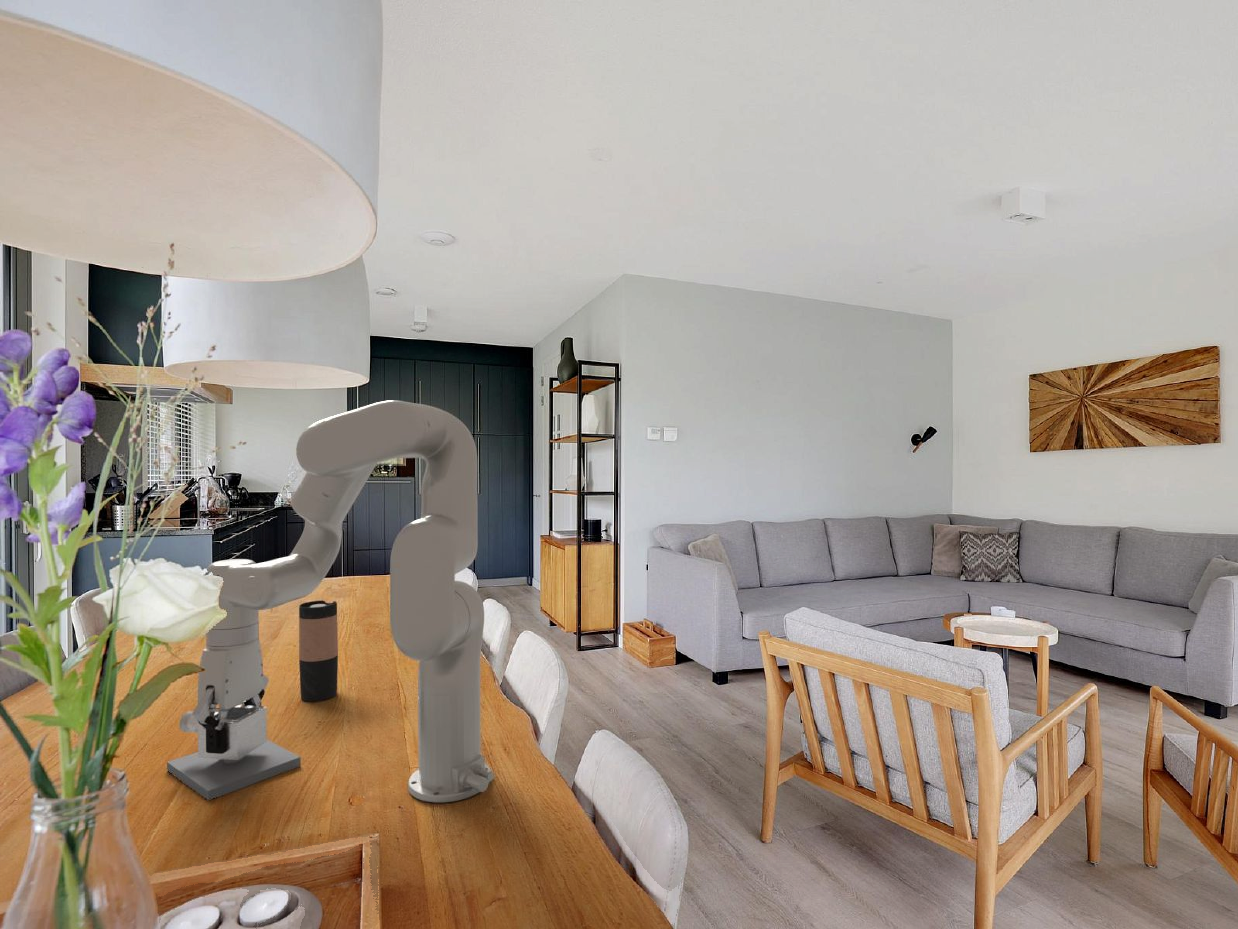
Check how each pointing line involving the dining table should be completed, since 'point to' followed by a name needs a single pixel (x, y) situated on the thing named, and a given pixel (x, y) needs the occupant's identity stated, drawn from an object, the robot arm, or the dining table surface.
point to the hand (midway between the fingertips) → (233, 741)
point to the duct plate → (232, 770)
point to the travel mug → (318, 650)
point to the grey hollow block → (233, 731)
